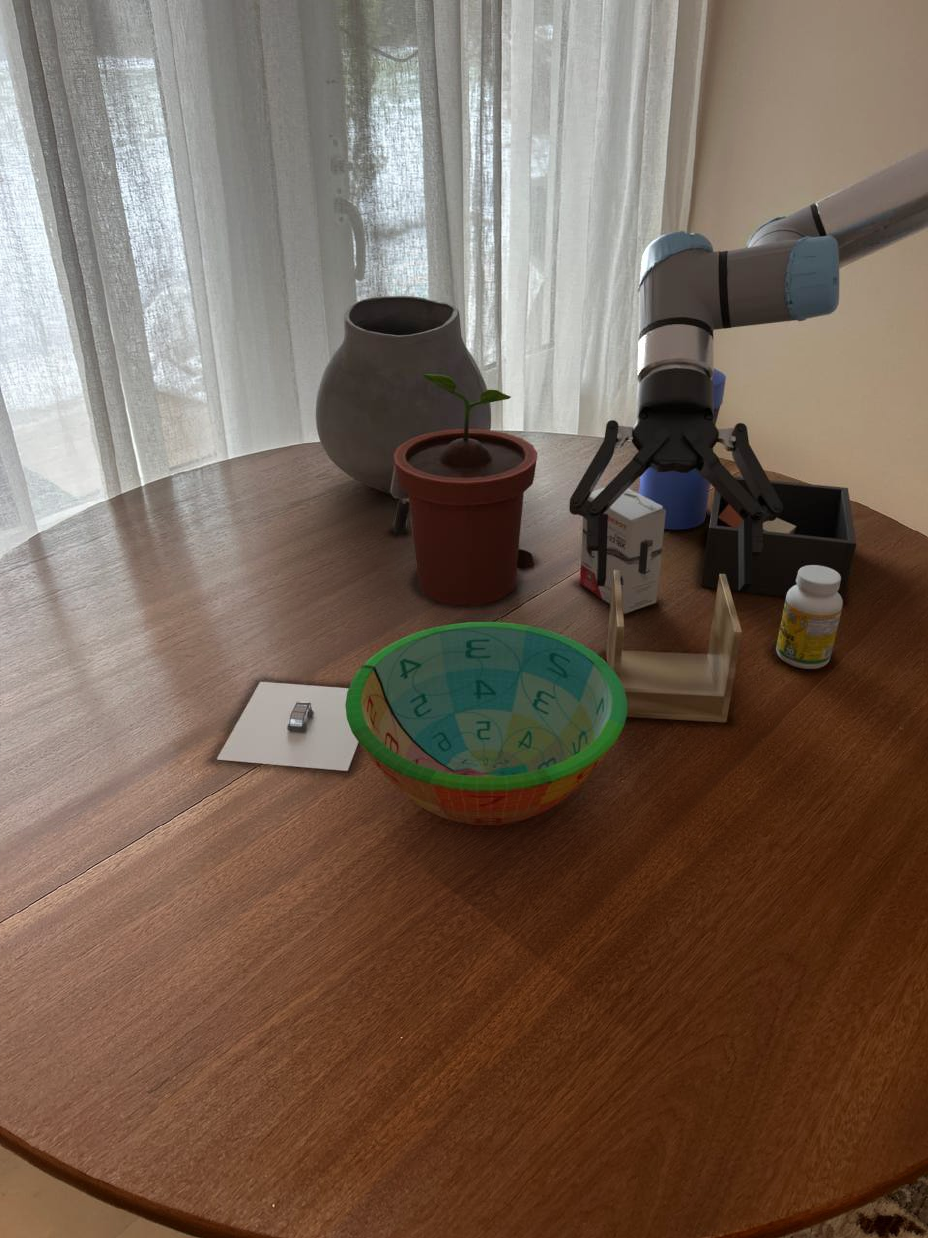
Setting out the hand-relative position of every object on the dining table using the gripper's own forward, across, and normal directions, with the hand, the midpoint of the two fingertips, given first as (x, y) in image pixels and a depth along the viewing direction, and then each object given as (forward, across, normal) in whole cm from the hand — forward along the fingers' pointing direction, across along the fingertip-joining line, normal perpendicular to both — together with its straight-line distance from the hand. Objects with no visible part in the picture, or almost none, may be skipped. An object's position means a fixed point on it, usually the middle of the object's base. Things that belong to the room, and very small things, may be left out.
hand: (672, 585), depth 89 cm
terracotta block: (-14, -10, -24) cm, 29 cm away
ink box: (-4, +4, -18) cm, 18 cm away
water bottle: (-19, -4, -33) cm, 38 cm away
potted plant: (-7, +23, -21) cm, 31 cm away
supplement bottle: (+4, -14, -10) cm, 18 cm away
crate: (+9, 0, -5) cm, 10 cm away
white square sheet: (+15, +34, +2) cm, 38 cm away
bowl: (+21, +16, +7) cm, 27 cm away
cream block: (-11, -14, -24) cm, 30 cm away
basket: (-10, -15, -24) cm, 30 cm away
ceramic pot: (-25, +33, -38) cm, 57 cm away
